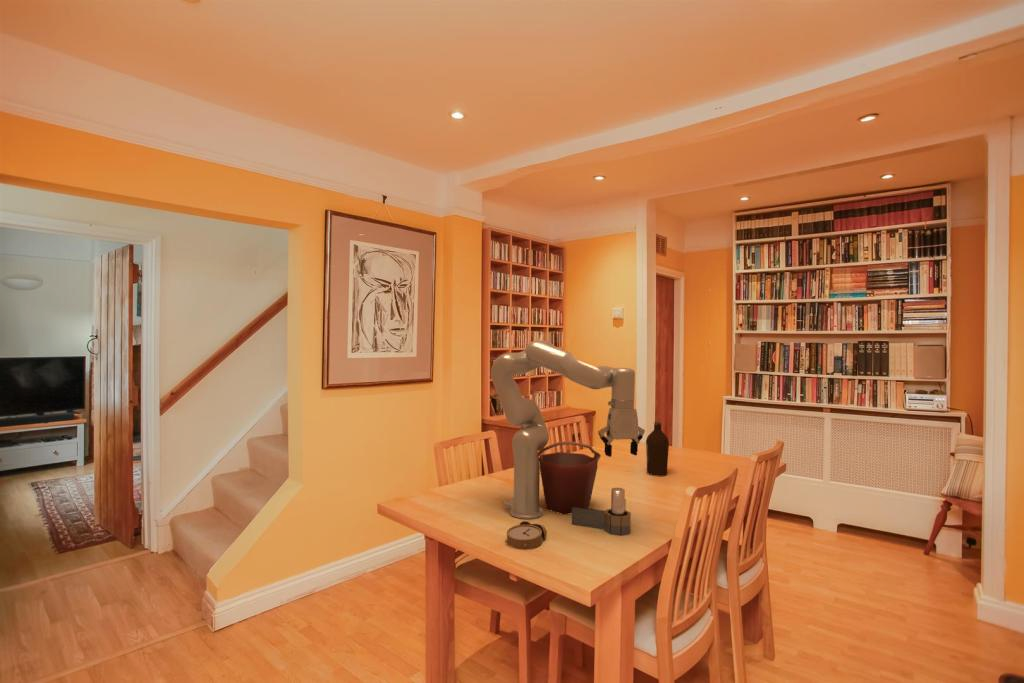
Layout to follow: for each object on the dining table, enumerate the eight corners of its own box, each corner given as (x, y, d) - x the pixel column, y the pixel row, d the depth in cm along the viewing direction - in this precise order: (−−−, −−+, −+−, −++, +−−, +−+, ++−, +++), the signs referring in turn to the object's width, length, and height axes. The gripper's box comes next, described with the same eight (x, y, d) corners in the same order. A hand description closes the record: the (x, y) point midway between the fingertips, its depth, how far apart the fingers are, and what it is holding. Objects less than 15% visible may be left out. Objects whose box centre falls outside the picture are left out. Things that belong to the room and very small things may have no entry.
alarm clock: (499, 535, 159) (523, 513, 171) (500, 550, 159) (524, 527, 172) (530, 543, 153) (553, 520, 165) (531, 558, 153) (554, 534, 166)
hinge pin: (609, 532, 170) (610, 490, 170) (612, 527, 174) (612, 487, 174) (623, 534, 168) (623, 492, 168) (625, 529, 172) (625, 488, 172)
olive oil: (670, 472, 247) (671, 421, 247) (666, 477, 238) (666, 424, 238) (648, 469, 252) (649, 419, 252) (643, 474, 243) (644, 422, 243)
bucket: (601, 501, 202) (602, 439, 202) (595, 520, 180) (596, 450, 180) (541, 495, 208) (542, 435, 208) (529, 513, 187) (530, 446, 187)
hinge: (568, 528, 173) (569, 510, 173) (581, 509, 192) (581, 493, 192) (628, 536, 166) (628, 518, 166) (635, 516, 185) (635, 500, 185)
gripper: (605, 406, 164) (603, 459, 165) (651, 405, 170) (649, 456, 170) (594, 403, 171) (592, 453, 172) (638, 402, 177) (637, 451, 177)
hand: (621, 455), depth 171 cm, fingers open, 9 cm apart
